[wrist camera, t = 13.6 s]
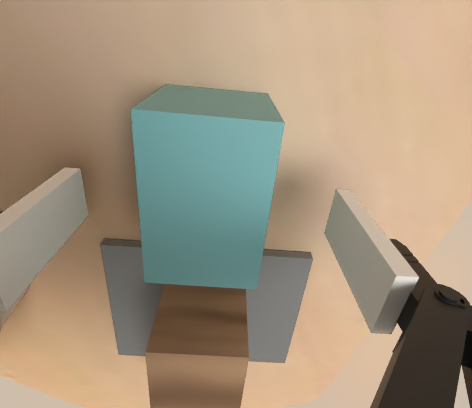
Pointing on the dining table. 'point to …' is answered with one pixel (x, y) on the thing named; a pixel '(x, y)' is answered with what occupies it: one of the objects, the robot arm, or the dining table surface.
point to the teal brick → (205, 183)
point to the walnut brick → (198, 348)
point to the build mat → (258, 301)
